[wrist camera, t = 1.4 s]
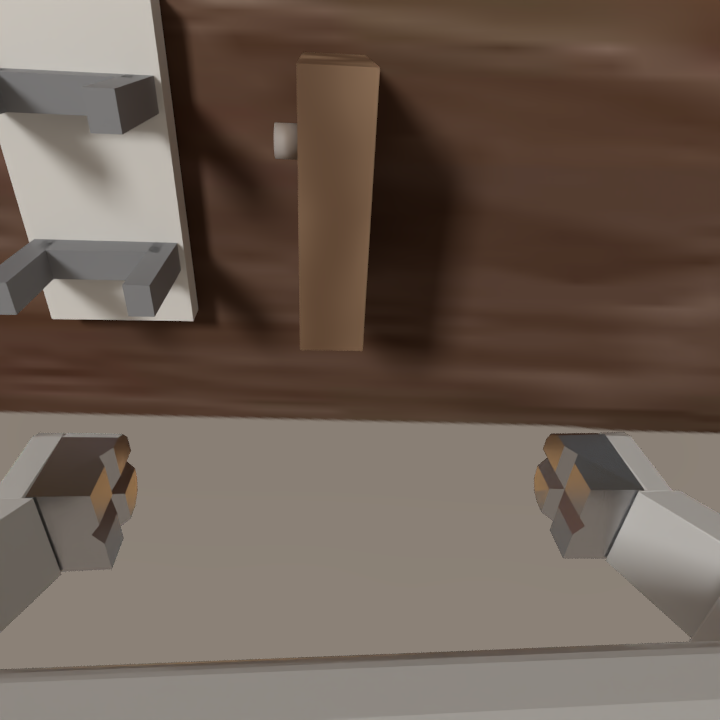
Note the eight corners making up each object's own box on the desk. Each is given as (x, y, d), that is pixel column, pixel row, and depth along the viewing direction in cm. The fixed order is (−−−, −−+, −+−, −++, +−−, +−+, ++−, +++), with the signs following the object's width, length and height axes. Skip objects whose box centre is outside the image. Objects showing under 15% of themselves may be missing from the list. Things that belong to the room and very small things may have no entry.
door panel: (365, 55, 26) (380, 67, 19) (354, 281, 32) (362, 350, 26) (282, 50, 26) (268, 61, 19) (288, 280, 32) (278, 349, 25)
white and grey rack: (158, -8, 24) (104, -16, 18) (198, 309, 33) (171, 373, 27) (-29, -19, 23) (-147, -32, 17) (62, 307, 32) (3, 372, 26)
